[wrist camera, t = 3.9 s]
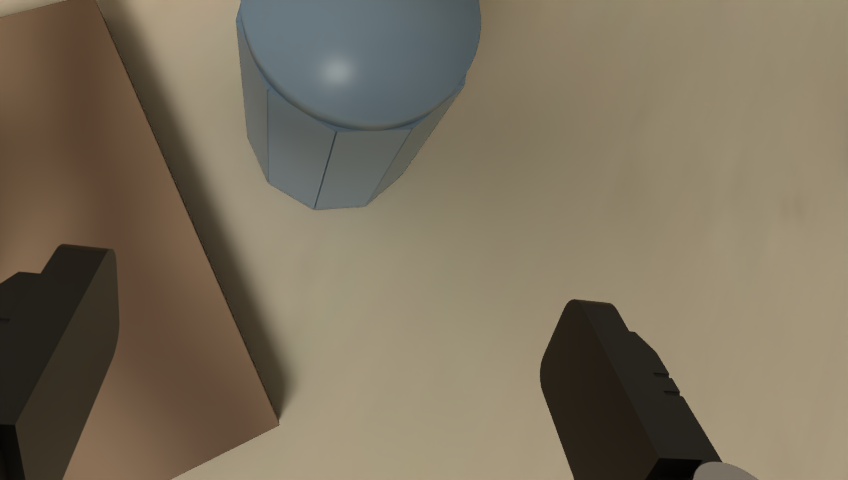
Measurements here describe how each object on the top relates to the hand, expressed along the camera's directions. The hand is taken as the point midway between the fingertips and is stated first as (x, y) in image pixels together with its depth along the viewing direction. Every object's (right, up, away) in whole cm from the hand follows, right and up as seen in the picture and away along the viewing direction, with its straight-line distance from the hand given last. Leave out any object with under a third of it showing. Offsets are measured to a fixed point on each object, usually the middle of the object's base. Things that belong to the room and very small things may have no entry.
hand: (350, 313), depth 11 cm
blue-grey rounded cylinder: (-2, +5, +13) cm, 14 cm away
